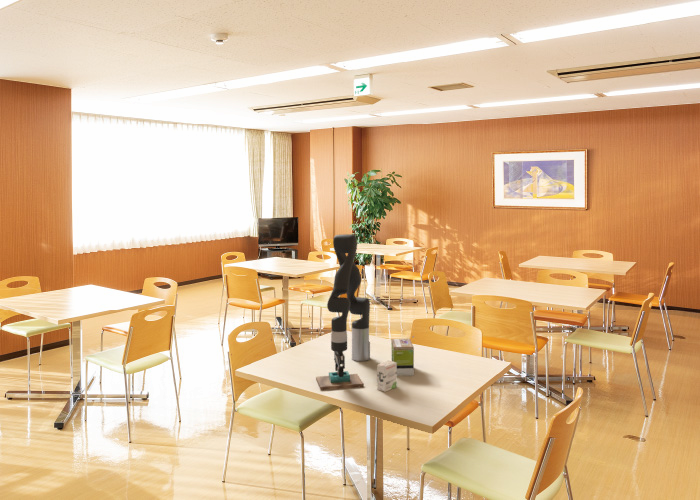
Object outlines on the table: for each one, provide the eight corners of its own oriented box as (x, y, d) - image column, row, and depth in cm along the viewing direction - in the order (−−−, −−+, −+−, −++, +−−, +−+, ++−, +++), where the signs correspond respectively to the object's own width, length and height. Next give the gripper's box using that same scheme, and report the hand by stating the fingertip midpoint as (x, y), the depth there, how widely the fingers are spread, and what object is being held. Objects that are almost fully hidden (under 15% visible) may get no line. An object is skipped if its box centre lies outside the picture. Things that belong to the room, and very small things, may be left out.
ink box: (388, 384, 253) (388, 359, 252) (397, 387, 250) (397, 362, 248) (376, 389, 247) (376, 364, 246) (385, 392, 243) (385, 366, 242)
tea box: (390, 366, 280) (391, 338, 278) (410, 366, 280) (410, 337, 278) (393, 376, 265) (393, 346, 263) (414, 375, 265) (414, 346, 263)
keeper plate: (357, 376, 264) (357, 360, 263) (363, 386, 250) (363, 369, 249) (316, 379, 260) (315, 363, 259) (320, 390, 246) (320, 372, 245)
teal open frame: (347, 377, 259) (347, 371, 258) (350, 381, 253) (350, 375, 252) (328, 378, 257) (328, 372, 256) (330, 383, 251) (330, 376, 251)
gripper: (350, 343, 247) (350, 378, 248) (344, 335, 260) (344, 368, 262) (333, 344, 245) (334, 379, 247) (328, 336, 259) (328, 369, 261)
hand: (339, 373), depth 254 cm, fingers open, 8 cm apart
